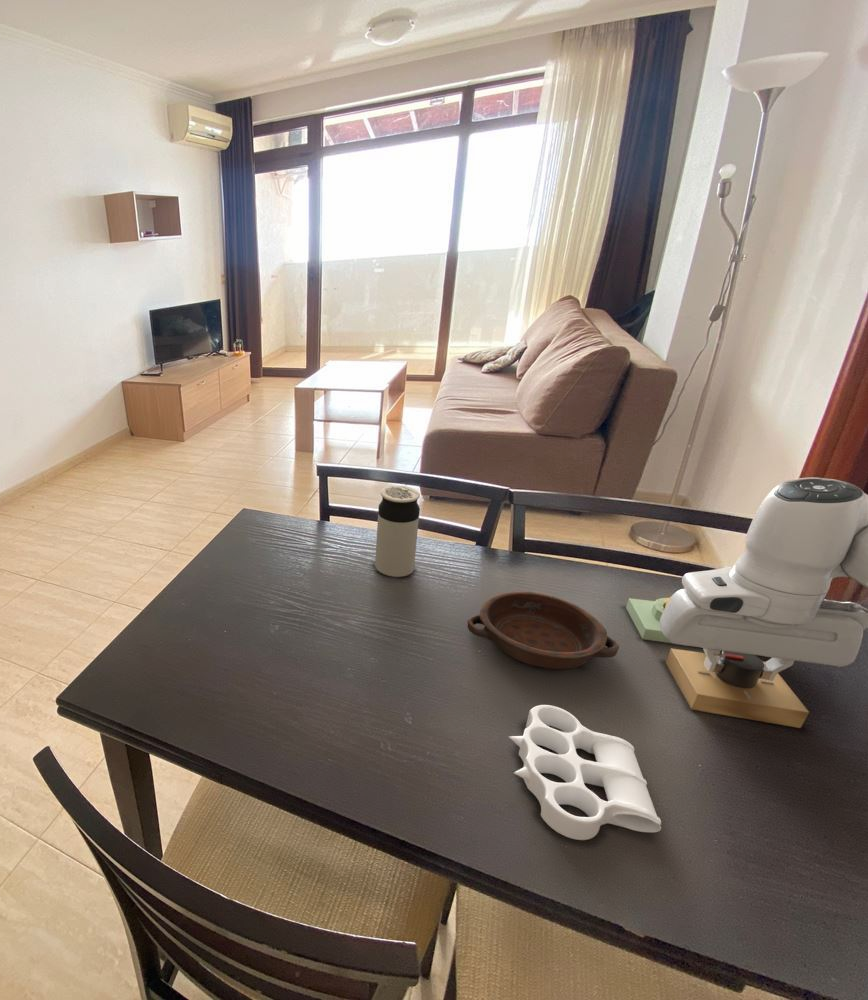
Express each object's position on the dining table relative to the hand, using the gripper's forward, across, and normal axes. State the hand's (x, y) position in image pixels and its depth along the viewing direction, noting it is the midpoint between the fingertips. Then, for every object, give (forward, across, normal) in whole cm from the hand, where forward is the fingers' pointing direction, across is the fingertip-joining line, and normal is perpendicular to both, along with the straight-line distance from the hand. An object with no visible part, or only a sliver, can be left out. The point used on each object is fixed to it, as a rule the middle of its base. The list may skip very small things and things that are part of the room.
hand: (736, 672), depth 78 cm
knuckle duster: (+4, +24, +22) cm, 33 cm away
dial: (+1, 0, 0) cm, 1 cm away
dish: (+4, +24, -5) cm, 25 cm away
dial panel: (+4, 0, 0) cm, 4 cm away
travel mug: (+4, +48, -24) cm, 54 cm away
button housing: (+4, +2, -15) cm, 16 cm away
